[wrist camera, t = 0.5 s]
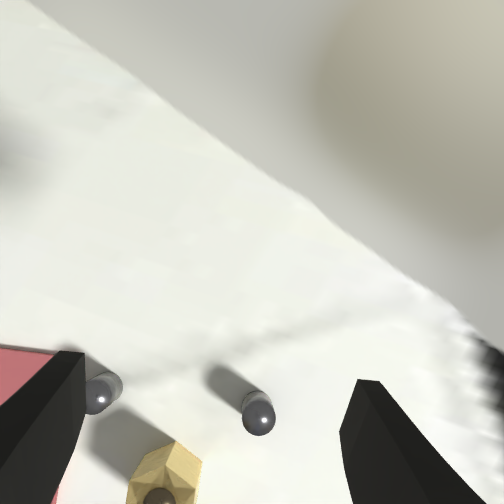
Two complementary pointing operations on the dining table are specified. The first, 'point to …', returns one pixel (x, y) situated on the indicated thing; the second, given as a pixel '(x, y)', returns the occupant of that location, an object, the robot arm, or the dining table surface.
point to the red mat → (19, 373)
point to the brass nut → (166, 477)
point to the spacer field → (253, 407)
